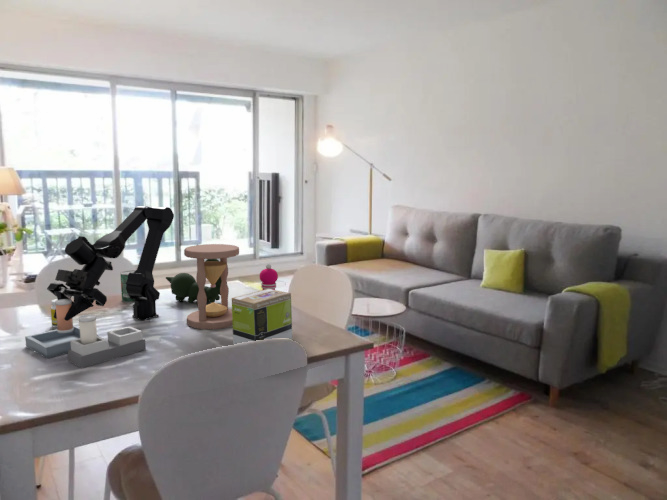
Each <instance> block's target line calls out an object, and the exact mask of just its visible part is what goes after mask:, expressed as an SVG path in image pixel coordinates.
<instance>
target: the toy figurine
mask: <svg viewBox="0 0 667 500" xmlns="http://www.w3.org/2000/svg"><path fill="white" fill-rule="evenodd" d="M209 261H220V259H205V260H204V262H209ZM195 278H196V277H194V276H193V275H192V274H190V273H187V272H180V273H178V274H176V275H174V276H166V277H165V279H166V280H167V282H169V284H170V289H171V294H172V295H175V300H176V302H183V301H185V299H186V298H187V301H188V302H189V303H190V304H192V303H194V302H195V301H197V296H198V292H199V287H198V284H197V281H196V279H195ZM221 283H222V280H221V277H219V279H218V280H217V282H216V283H215V285H216V287H210V286H207V285H205V287H204V291H205V294H206V297H207V302H206V303H208V302H210V304H211V303H213V302H214V303H216V301H219V300H221V295H220V287H221Z"/></svg>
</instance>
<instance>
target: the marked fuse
mask: <svg viewBox="0 0 667 500" xmlns="http://www.w3.org/2000/svg"><path fill="white" fill-rule="evenodd" d="M72 301H73V300H72V298H71V299H60V300H56V301H55V305H56V317H57V327H56V330H57V333H69V332H72V331H74V328H73V326H74V323H73V322H74V321H73V320H74V319H73V318H71V319H70V320H68V321H66V320H65V319H64V318H65V316H66V314H67V312H68V311H69V309H70V307H71V305H72V304H71V303H72Z"/></svg>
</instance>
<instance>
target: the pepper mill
mask: <svg viewBox="0 0 667 500" xmlns="http://www.w3.org/2000/svg"><path fill="white" fill-rule="evenodd" d="M278 275H279V274H278V272H277V270H275V269H274V268H272V265H271V264H270V263H267V264H266V265H265V268H264V269H262V270H261V271H260V273H259V281H260V282H261V283H260V284H261V286H260V287H261V290H265V289H272V290H276V288H277V283H276V282H277V281H278V279H279V276H278Z"/></svg>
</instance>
